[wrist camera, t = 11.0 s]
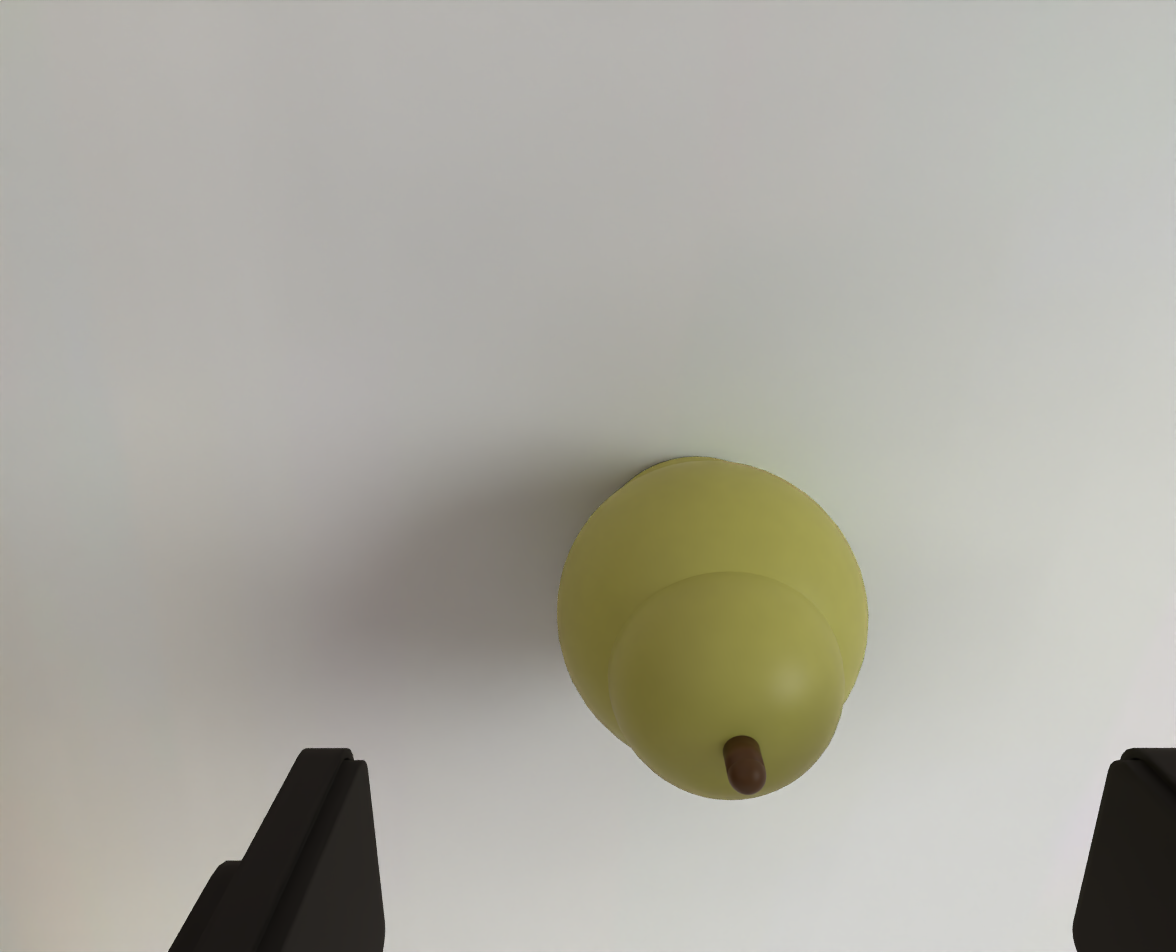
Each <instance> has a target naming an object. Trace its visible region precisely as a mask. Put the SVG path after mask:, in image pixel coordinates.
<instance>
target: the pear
mask: <svg viewBox="0 0 1176 952" xmlns="http://www.w3.org/2000/svg"><path fill="white" fill-rule="evenodd" d="M557 625H558V635H559V641H560V645H561V649H562V653H563V657H564V661H565V664H566V667H567V669H568V672H569V674H570V677H571V679H572V682H573V683H574V685H575V687H576V688H577V690H578V692H579V693H580V695H581V697H582V699H583V700H584V702H585V704H586V705H587V707H588V708H589V709H590V710H591V712H592V713H593V714H594V715H595V717H596V718H597V719H598V720H599V721H600V722H601V723H602V724H603V725H604V726H605V727H606V728H607V729H608V730H609V731H611V732H612V733H613V734H614V735H615V736H616V737H617V738H618V739H620V740H621V741H622V742H624V743H625V744H626V745H628V746H629V747H631V748H632V750H633V751H634V752H635V753H636V755H637V756H638V757H639V758H640V759H641V760H642V761H643V762H644V763H645V764H646V765H647V766H648V767H649V768H650V769H651V770H652V771H653V772H654V773H656V774H657V775H658V776H660V777H661V778H662V779H664V780H665V781H667V782H669V783H671V784H672V785H674V786H676V787H678V788H680V789H682V790H684V791H687V792H689V793H692V794H695V795H698V796H702V797H706V798H712V799H722V800H742V799H749V798H755V797H759V796H763V795H766V794H769V793H771V792H774V791H776V790H779V789H781V788H783V787H785V786H787V785H789V784H790V783H792V782H793V781H795V780H796V779H798V778H799V777H800V776H802V775H803V774H804V773H805V772H806V771H808V770H809V769H810V768H811V767H812V765H813V764H814V763H815V762H816V761H817V760H818V759H819V757H820V756H821V755H822V753H823V752H824V751H825V749H826V748H827V746H828V745H829V743H830V741H831V739H832V737H833V735H834V733H835V730H836V728H837V725H838V722H839V719H840V716H841V712H842V707H843V704H844V703H845V701H846V700H847V698H848V696H849V694H850V692H851V690H852V688H853V686H854V684H855V682H856V679H857V676H858V674H859V671H860V668H861V665H862V662H863V659H864V654H865V649H866V644H867V633H868V606H867V597H866V592H865V586H864V583H863V579H862V575H861V571H860V568H859V566H858V563H857V561H856V559H855V556H854V554H853V552H852V550H851V548H850V546H849V544H848V542H847V540H846V539H845V537H844V535H843V534H842V532H841V531H840V529H839V528H838V526H837V525H836V524H835V523H834V522H833V520H832V519H831V518H830V517H829V516H828V515H827V513H826V512H825V511H824V510H823V509H822V508H821V507H820V506H819V505H818V504H817V503H816V502H815V501H814V500H813V499H811V498H810V497H809V496H808V495H807V494H806V493H804V492H803V491H801V490H800V489H798V488H797V487H795V486H794V485H792V484H791V483H789V482H787V481H786V480H784V479H782V478H780V477H778V476H776V475H773V474H771V473H769V472H767V471H764V470H761V469H758V468H755V467H752V466H749V465H744V464H739V463H734V462H728V461H725V460H721V459H716V458H710V457H683V458H678V459H672V460H668V461H665V462H662V463H659V464H657V465H654V466H652V467H650V468H648V469H646V470H644V471H643V472H641V473H640V474H638V475H636V476H635V477H634V478H633V479H631V480H630V481H629V482H628V483H626V484H625V485H624V487H622V488H620V489H619V490H618V491H616V492H615V493H614V494H613V495H611V496H610V497H609V498H608V499H607V500H605V501H604V502H603V503H602V504H601V505H600V507H599V508H598V509H597V510H596V511H595V512H594V513H593V514H592V515H591V517H590V518H589V519H588V521H587V522H586V524H585V525H584V526H583V528H582V529H581V531H580V532H579V534H578V536H577V538H576V539H575V541H574V543H573V545H572V547H571V549H570V551H569V554H568V557H567V559H566V562H565V565H564V568H563V572H562V576H561V580H560V585H559V590H558V600H557Z"/></svg>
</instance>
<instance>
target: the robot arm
mask: <svg viewBox="0 0 1176 952" xmlns="http://www.w3.org/2000/svg"><path fill="white" fill-rule="evenodd" d="M1072 930H1073V939H1074V943H1075V947H1076V950H1077V952H1176V748H1131V749H1128V750H1126V751H1125V752H1124V753H1123V754H1122V756H1121V759H1120V760H1117V761H1114V762H1113V763H1112V764H1111V765H1110V767H1109V770H1108V774H1107V778H1106V782H1105V787H1104V791H1103V795H1102V800H1101V804H1100V808H1099V813H1098V817H1097V821H1096V826H1095V830H1094V834H1093V839H1092V843H1091V847H1090V852H1089V856H1088V861H1087V865H1086V869H1085V874H1084V878H1083V882H1082V887H1081V891H1080V895H1079V900H1078V904H1077V908H1076V913H1075V917H1074V921H1073V929H1072ZM384 939H385V920H384V911H383V901H382V892H381V883H380V874H379V865H378V856H377V847H376V838H375V829H374V820H373V811H372V802H371V793H370V784H369V775H368V768H367V764H366V762H365V761H364V760H354V758H353V754H352V752H351V750H350V749H348V748H306V749H304V750H302V751H301V753H300V754H299V755H298V757H297V759H296V761H295V763H294V765H293V766H292V768H291V770H290V772H289V774H288V776H287V778H286V779H285V781H284V783H283V785H282V787H281V789H280V791H279V792H278V794H277V796H276V798H275V800H274V802H273V804H272V805H271V807H270V809H269V811H268V813H267V815H266V817H265V818H264V820H263V822H262V824H261V826H260V828H259V830H258V831H257V833H256V835H255V837H254V839H253V841H252V843H251V844H250V846H249V848H248V850H247V852H246V854H245V856H244V857H243V859H242V861H225V862H224V863H222V864H221V865H219V866H218V868H217V869H216V870H215V872H214V873H213V875H212V876H211V878H210V879H209V881H208V883H207V885H206V886H205V888H204V890H203V892H202V893H201V895H200V897H199V899H198V900H197V902H196V904H195V905H194V907H193V909H192V911H191V912H190V914H189V916H188V918H187V919H186V921H185V923H184V925H183V926H182V928H181V930H180V932H179V933H178V935H177V937H176V939H175V940H174V942H173V944H172V946H171V947H170V949H169V951H168V952H383V947H384Z"/></svg>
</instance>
